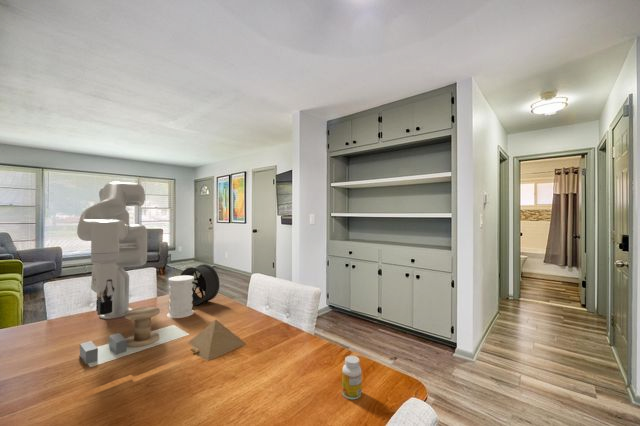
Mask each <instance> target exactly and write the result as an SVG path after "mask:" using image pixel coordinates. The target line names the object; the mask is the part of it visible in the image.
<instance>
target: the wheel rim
mask: <svg viewBox="0 0 640 426" xmlns="http://www.w3.org/2000/svg"><path fill="white" fill-rule="evenodd" d="M197 272H198V273H200V274H199V276H198V274H197ZM183 275H189V276H194V275H195V277H194V281H192V284H193V285H195V287H193V288H192V291H193V294H192V297H193V301H192V305H193V306H198V305H199V304H201V303H203V302H208V301H212V300H214V299H215V298H216V296H217V295H218V293H219V292H220V291H219V290H220V278H219V275H218V272H217V271H216V269H214V268H213V266H211V265H209V264H206V263H205V264H203V263H202V264H200V265H198V266H196V267H193V266H191V267H187V268H185V269H184V270H183V271H182V272H181V273H180V275H179V276H183ZM196 281H197V282H196ZM197 288H198V290H199V291H198V292H196V290H197ZM198 294H201V296H199V295H198Z"/></svg>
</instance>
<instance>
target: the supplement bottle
mask: <svg viewBox="0 0 640 426" xmlns="http://www.w3.org/2000/svg"><path fill="white" fill-rule="evenodd" d="M344 363H345V364H343V366H342V373H341V374H342V375H341V376H342V377H341V394H342V395H343V397H344V398H346V399H348V400H357V399H359V398H360V397H361V395H362V377H363V376H362V373H363V372H362V368H361V365H360V358H359V357H358V356H355V355H348V356H345V358H344Z"/></svg>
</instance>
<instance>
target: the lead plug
mask: <svg viewBox="0 0 640 426" xmlns="http://www.w3.org/2000/svg"><path fill="white" fill-rule="evenodd" d="M104 292H107V291H104ZM105 295H107V294H104V296H105ZM97 297H98V299H97V300H98V308H97V311H96V312H97V313H96V314H97V316H100V315H101V314H100V302H101V294H97V293H96V298H97ZM107 314H109V313H107ZM103 315H105V314H103Z"/></svg>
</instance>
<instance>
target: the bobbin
mask: <svg viewBox="0 0 640 426" xmlns="http://www.w3.org/2000/svg"><path fill="white" fill-rule="evenodd" d="M160 311H161V310H160V307H155V306H154V307H153V306H147V307H146V306H145V307H138V308H135V309H132V310H131V311H128V312H127V313H126V314H125V316H124V319H126V320H129V321H132V320H133V322H134V324H133V335H130V336H128V337H127V347H132V348H134V347H142V346H146V345H150V344H152V343H154V342H156V341H157V340H158V339H159V334H158V333H156V332H151V327H152V325H151V324H152V323H151V322H152V320H151V318H153V317H155V316H156V317H157V315H159V314H160V313H161V312H160Z"/></svg>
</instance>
